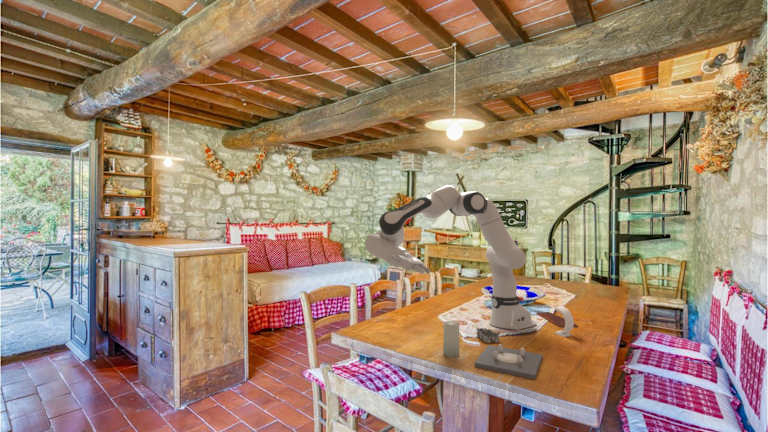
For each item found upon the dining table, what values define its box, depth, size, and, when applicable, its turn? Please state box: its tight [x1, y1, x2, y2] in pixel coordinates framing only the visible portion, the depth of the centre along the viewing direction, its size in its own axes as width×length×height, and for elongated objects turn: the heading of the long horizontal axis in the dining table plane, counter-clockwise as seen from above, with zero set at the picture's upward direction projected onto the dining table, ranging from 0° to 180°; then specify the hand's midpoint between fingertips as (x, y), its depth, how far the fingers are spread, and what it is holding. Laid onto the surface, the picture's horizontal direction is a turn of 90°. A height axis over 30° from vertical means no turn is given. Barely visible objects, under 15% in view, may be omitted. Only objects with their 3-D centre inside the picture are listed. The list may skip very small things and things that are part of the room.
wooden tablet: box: [536, 311, 579, 329], centre depth 186 cm, size 27×10×2 cm, turn 3°
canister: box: [442, 320, 460, 359], centre depth 140 cm, size 6×6×12 cm
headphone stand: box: [554, 305, 575, 338], centre depth 162 cm, size 5×6×12 cm
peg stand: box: [474, 343, 543, 380], centre depth 133 cm, size 20×20×4 cm
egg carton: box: [475, 327, 501, 344], centre depth 158 cm, size 11×8×4 cm
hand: (427, 272), depth 149 cm, fingers open, 8 cm apart
